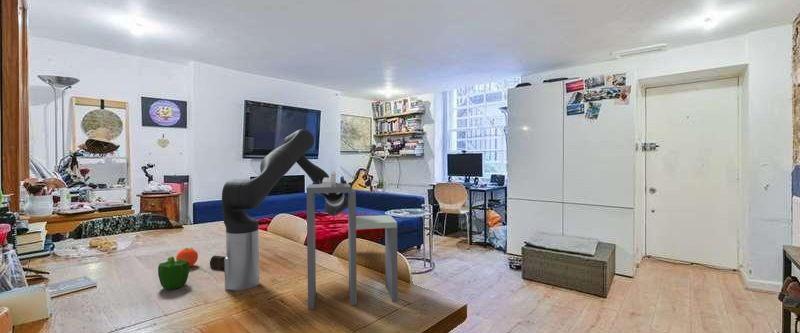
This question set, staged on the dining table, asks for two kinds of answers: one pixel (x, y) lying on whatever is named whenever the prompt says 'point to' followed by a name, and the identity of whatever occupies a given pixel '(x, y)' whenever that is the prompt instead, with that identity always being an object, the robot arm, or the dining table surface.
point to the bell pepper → (173, 273)
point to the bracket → (330, 180)
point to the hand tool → (217, 262)
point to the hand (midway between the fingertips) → (330, 182)
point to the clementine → (188, 256)
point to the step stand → (351, 242)
